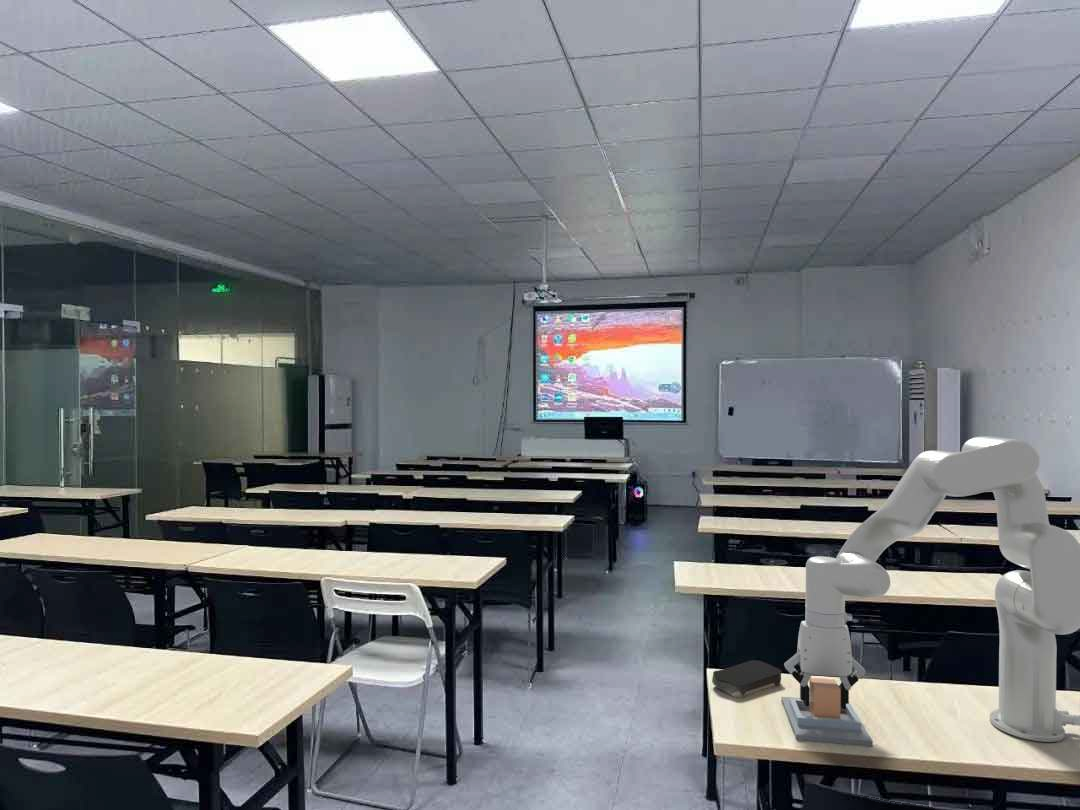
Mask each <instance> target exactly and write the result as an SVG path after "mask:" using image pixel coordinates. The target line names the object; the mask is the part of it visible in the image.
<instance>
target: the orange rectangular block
mask: <svg viewBox="0 0 1080 810" xmlns="http://www.w3.org/2000/svg"><path fill="white" fill-rule="evenodd" d="M840 706H841V689H840V687H839V684H838V683H837V681H836V679H834V678H832V679H831V678H816V677H810V679H809V712H810V714H811V716H812V717H821V718H834V719H840Z"/></svg>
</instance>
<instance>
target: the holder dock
mask: <svg viewBox="0 0 1080 810" xmlns="http://www.w3.org/2000/svg"><path fill="white" fill-rule="evenodd" d="M780 698H781V700H780V702H781V704H782V707H783V710H784V712H785V714H786V717H787V719H788V723H789V725H790V727H791V730H792V733H793V735H794V739H795V740H797V741H805V742H806V741H808V742H817V743H818V742H819V743H820V742H821V743H830V744H831V743H832V744H843V745H853V746H866V747H873V746H874V740H873V738H872V737H871V736H870V734H869V733H868V731H867V730H866V728H865V726H864V725H863V722H862V721H861V719H860V717H859V716H858V714H857V713H856V711H855V709H854V708H853V706H852V705H851V703H850V702H849V704H846V709H842V708H841V706H840V719H834V718H821V717H812V716H811V714H810V712H809V706H808V707H807V706H805V704H804V702H803V700H801V699H800V697H793V696H791V697H790V696H781V697H780Z"/></svg>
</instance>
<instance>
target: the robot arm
mask: <svg viewBox="0 0 1080 810" xmlns="http://www.w3.org/2000/svg"><path fill="white" fill-rule="evenodd" d="M1040 462H1041V460H1040V456H1039V453H1038V451H1037V450H1036V448H1034V446H1033V445H1031V444H1030V443H1028V442H1026V441H1024V440H1021V439H1018V438H1006V437H999V436H998V437H997V436H990V435H989V436H986V435H985V436H983V435H982V436H976V437H973V438H972V437H971V438H970V439H968V440H967V441H965V442H964V444H963V446H962V448H961V451H955V452H952V451H946V450H945V451H943V450H927V451H923V452H921V453H920V454H918V455H917V456H916V457H915V458H914V460H913V461H912V462H911V463H910V465H909V467H908V468H907V469H906V471H905V472H904V474H903V476H902V477H901V479H900V480H899V481H898V483H897V484H896V486H895V487H894V489H893V491H892V492H891V494H890V495H889V496H888V497H887V499H886V501H885V502H884V503H883V505H882V506H881V507H880V508H879V509H878V510H876V512H874V513H872V514H871V515H870V516H869V517H868V518H867V519H866V520H864V521H863V522H862V523H861V524H860V525H858V527H856V529H855V530H854V531H853V532H852V533H851V534H850V535H849V537H848V538H847V540H846V541H845V543H844V544H843V546H842V547H841V548H840V550H839V552H838V553H837V555H836V557H831V556H811V557H809V558H808V559H807V561H806V563H805V601H804V602H805V604H804V605H805V611H804V612H805V620H802V621H801V622H800V626H799V631H798V637H797V647H796V648H797V650H796V653H794V654H793V656H791V657H790V658H788V660H787V661H785V662H784V664H783V666H784V668H785V670H787V671H788V673H790V675H792V677H793V678H794V680H796V682H797V683H798V684H799V698H800V699H801V700H803V702H804V704H805V706H807V707H808V706H809V687H810V685H809V684H808V683H809V682H810V678H812V676H826V677H839V681H840V684H838V686H839V687H840V689H841V708H842V709H846V704H849V703H850V702H849V701H850V699H849V698H850V697H849V696H850V691H851V689H852V687H853V686H854V685H855V684H857V682H859V680H860V679H861V678H862V677H863V676H864V675H866V669H865V668H864V667H863V666H862V665H861V664H860V663H859V662H858V661H857V660H855V658H854V657H853V656H852V655H853V654H852V645H851V638H850V637H851V636H850V631H849V627H848V625H847V624H846V623H847V622H849V621H850V622H852V621H853V614H852V613H847V612H846V608H845V607H846V596H849V597H855V598H860V599H866V600H867V599H868V600H869V599H870V600H872V599H873V600H874V599H878V598H881V597H883V596H885V595H886V594H887V593H888V591H889V589H890V587H891V577H890V575H889V573H888V571H887V570H886V569H885V568H884V567H883V566H882V565H881V564H879V563H877V560H878V559H879V557H880V556H881V555H882V554H883V552H884V551H885V550H886V549H887V548H888V547H890V546H891V545H892V544H894V543H895V542H897V541H899V540H902V539H906V538H909V537H913V536H914V535H917V534H919V533H920V532H922V531H923V530H924V529H925V528H926V526H927V524H928V523H929V521H930V520H931V518H932V516H934V514H935V513H936V511H937V509H938V508H939V507H940V506H941V504H942V502H944V500H945V498H946V497H947V496H948V497H956V498H957V497H967V496H973V495H978V494H981V493H989V492H992V493H993V497H994V499H995V500H994V501H995V506H996V507H995V508H996V520H997V521H996V522H997V533H998V546H999V547H998V548H999V550H1000V552H1001V554H1002V556H1003V557H1004V558H1005V559H1006V560H1008V561H1009V562H1011V563H1013V564H1015V565H1017V566H1020V567H1022V568H1025V569H1028V570H1021V569H1016V570H1011V571H1008V572H1006V573H1004V574H1003V575H1002V576H1001V577H1000V578H999V579H998V581H997V582H996V585H995V589H994V599H995V600H994V601H995V607H996V610H997V617H998V630H999V647H998V649H999V650H998V651H999V652H998V657H999V658H998V709H995V710H993V711H991V712H990V714H989V722H990V723H991V724H992V726H994V727H995V728H997V729H998V730H1000V731H1002V732H1004V733H1006V734H1009V735H1012V736H1014V737H1017V738H1020V739H1025V740H1028V741H1034V742H1041V743H1054V742H1060V741H1062V740H1064V739H1065V737H1066V730H1065V728H1064V727H1065V726H1067V725H1071V726H1079V727H1080V714H1079V715H1078V714H1077V715H1076V714H1069V711H1068V710H1058V708H1056V705H1057V648H1058V647H1057V639H1056V635H1070V634H1073V633H1074V632H1076V631H1078V630H1079V629H1080V543H1079V541H1078V539H1077V538H1076V537H1075V536H1074V535H1073V534H1072V533H1070V532H1069V531H1068V530H1066V529H1064V528H1061V527H1059V526H1055V525H1051V524H1050V521H1049V513H1048V508H1047V507H1048V506H1047V500H1046V495H1045V489H1044V487H1043V484H1042V482H1041V480H1040V478H1039V476H1038V475H1037V474H1036V473H1037V472H1038V470H1039V467H1040ZM796 665H798V666H800V671H801V672H800V673H799V671H798V670H796V668H795V666H796ZM853 668H854V669H855V670H854V671H853ZM852 672H853V673H852Z"/></svg>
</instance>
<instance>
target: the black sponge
mask: <svg viewBox="0 0 1080 810" xmlns="http://www.w3.org/2000/svg"><path fill="white" fill-rule="evenodd" d="M712 672H713V673H712V678H711V681H712V682H711V683H712V684H713V686H714V687H716V688H717V689H719V690H721V691H724V692H725V693H727V694H728V695H730V696H732V697H734V698H741V699H742V698H744V697H745V696H748V695H752V694H754V693H757V692H760V690H761V691H764V690H766V688H767V689H770V688H772V686H773V687H778V686H779V685H780V684H781V682H782V670H781V668H778V667H776V666H774V665H771V664H769V663H766V662H764V661H761V660H757V659H756V660H752V659H751V660H748V661H745V662H742V663H739V664H736V665H731V666H729V667H726V668H723V669H717V670H714V671H712ZM769 687H770V688H769ZM763 689H764V690H763Z"/></svg>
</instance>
